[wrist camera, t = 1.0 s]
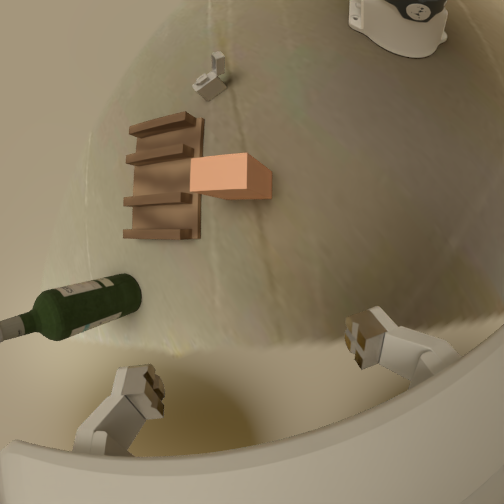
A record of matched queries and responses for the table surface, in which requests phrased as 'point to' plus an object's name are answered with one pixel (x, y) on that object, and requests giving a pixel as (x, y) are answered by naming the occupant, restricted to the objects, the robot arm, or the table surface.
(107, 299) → the wine bottle
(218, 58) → the lighter
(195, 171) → the salmon rectangular prism
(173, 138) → the rack
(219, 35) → the table surface
